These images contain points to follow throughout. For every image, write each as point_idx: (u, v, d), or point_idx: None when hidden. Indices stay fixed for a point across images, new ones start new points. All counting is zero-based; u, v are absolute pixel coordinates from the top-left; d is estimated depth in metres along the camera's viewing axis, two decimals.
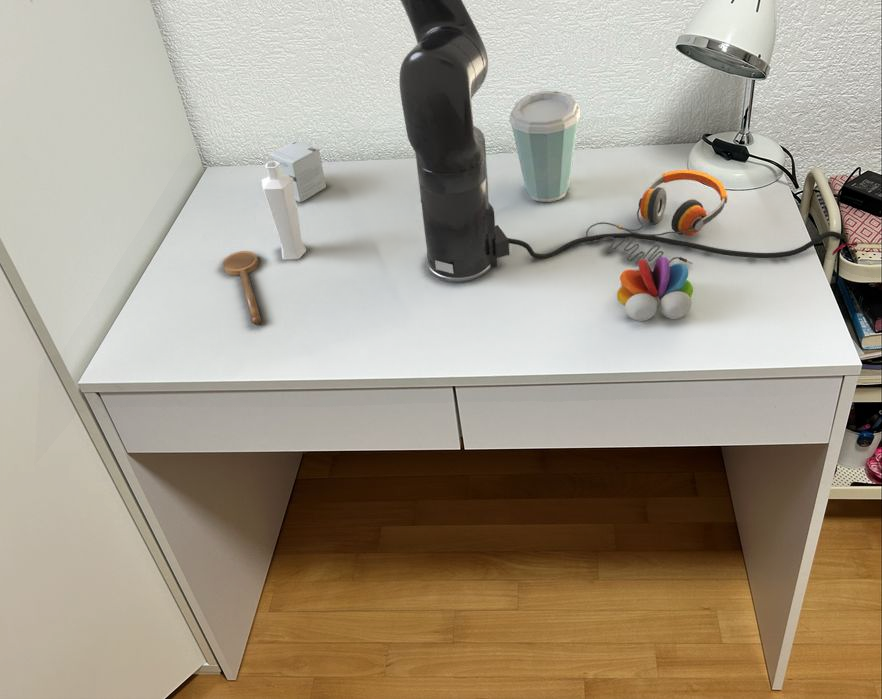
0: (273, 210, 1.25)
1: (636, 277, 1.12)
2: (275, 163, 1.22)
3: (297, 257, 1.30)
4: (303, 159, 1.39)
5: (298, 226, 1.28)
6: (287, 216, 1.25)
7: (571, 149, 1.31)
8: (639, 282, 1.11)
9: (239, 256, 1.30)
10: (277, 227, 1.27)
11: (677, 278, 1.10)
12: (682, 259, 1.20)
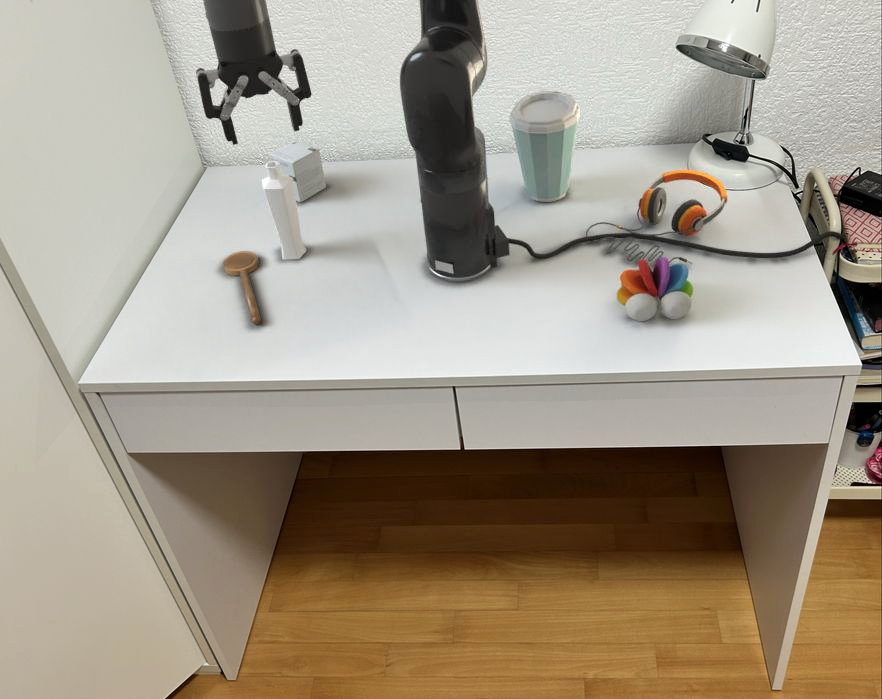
0: (273, 210, 1.25)
1: (636, 277, 1.12)
2: (275, 163, 1.22)
3: (297, 257, 1.30)
4: (303, 159, 1.39)
5: (298, 226, 1.28)
6: (287, 216, 1.25)
7: (571, 149, 1.31)
8: (639, 282, 1.11)
9: (239, 256, 1.30)
10: (277, 227, 1.27)
11: (677, 278, 1.10)
12: (682, 259, 1.20)
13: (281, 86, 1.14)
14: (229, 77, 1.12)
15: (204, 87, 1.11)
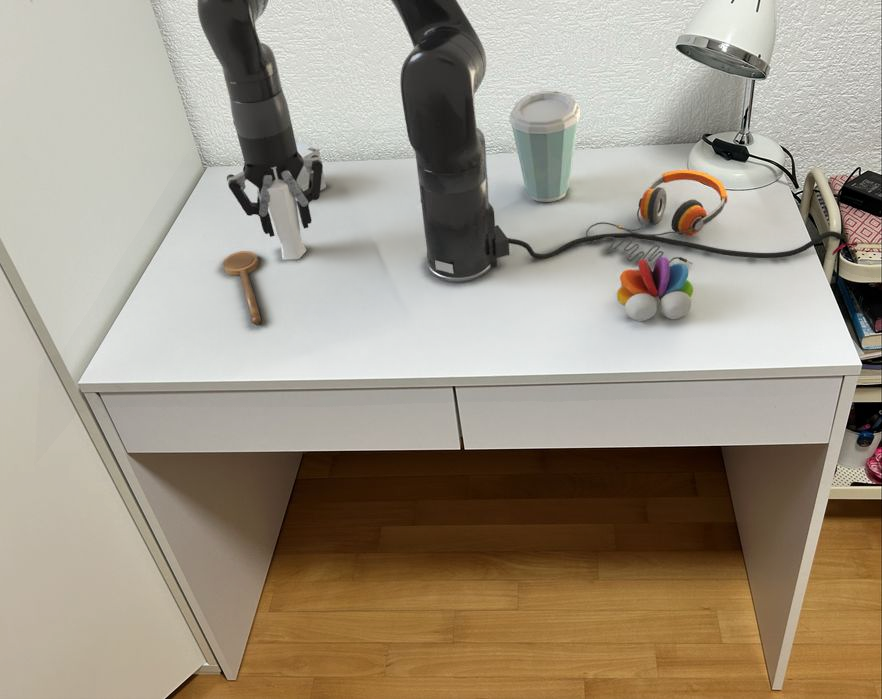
0: (273, 210, 1.25)
1: (636, 277, 1.12)
2: None
3: (297, 257, 1.30)
4: None
5: (298, 226, 1.28)
6: (287, 216, 1.25)
7: (571, 149, 1.31)
8: (639, 282, 1.11)
9: (239, 256, 1.30)
10: (277, 227, 1.27)
11: (677, 278, 1.10)
12: (682, 259, 1.20)
13: (297, 187, 1.23)
14: (254, 176, 1.21)
15: (237, 192, 1.21)
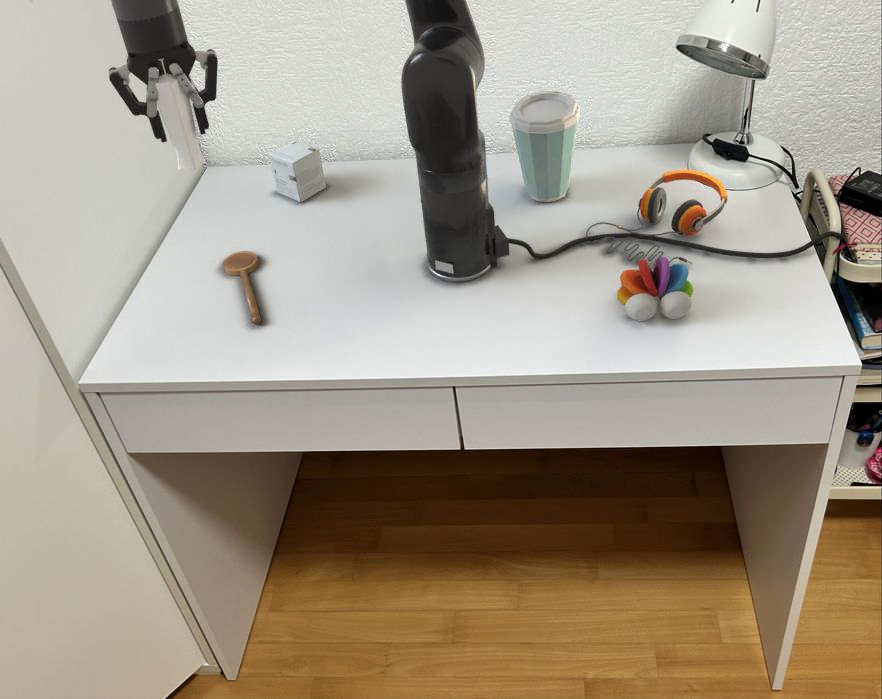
0: (163, 110, 1.12)
1: (636, 277, 1.12)
2: None
3: (194, 167, 1.17)
4: (303, 160, 1.39)
5: (194, 131, 1.15)
6: (179, 117, 1.12)
7: (571, 149, 1.31)
8: (639, 282, 1.11)
9: (239, 256, 1.30)
10: (169, 131, 1.14)
11: (677, 278, 1.10)
12: (682, 259, 1.20)
13: (189, 84, 1.10)
14: (139, 69, 1.08)
15: (119, 86, 1.08)
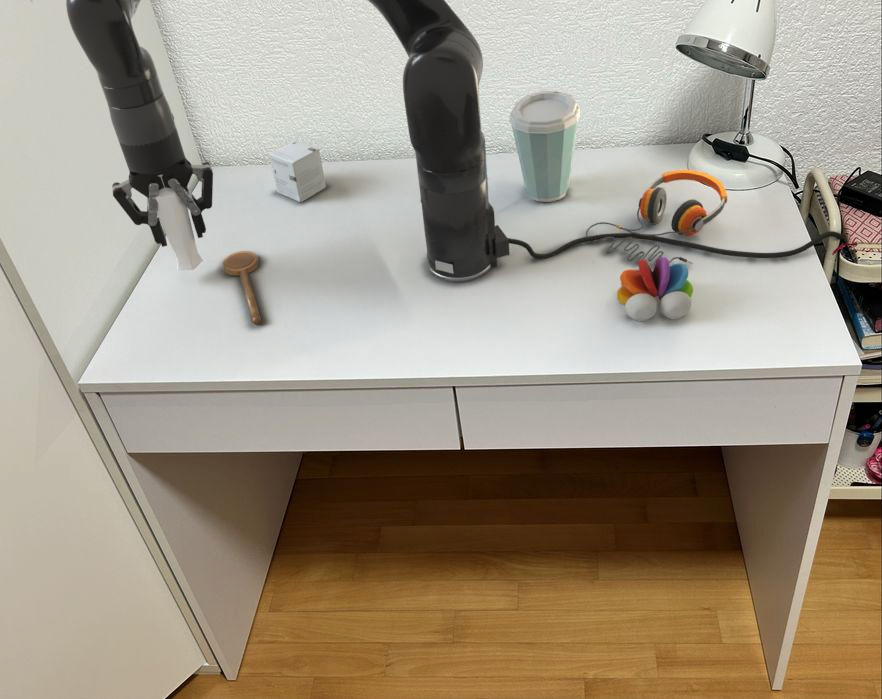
0: (163, 219, 1.20)
1: (636, 277, 1.12)
2: None
3: (192, 267, 1.25)
4: (303, 160, 1.39)
5: (191, 235, 1.24)
6: (178, 225, 1.21)
7: (571, 149, 1.31)
8: (639, 282, 1.11)
9: (239, 256, 1.30)
10: (169, 237, 1.22)
11: (677, 278, 1.10)
12: (682, 259, 1.20)
13: (187, 196, 1.19)
14: (140, 184, 1.17)
15: (122, 200, 1.17)
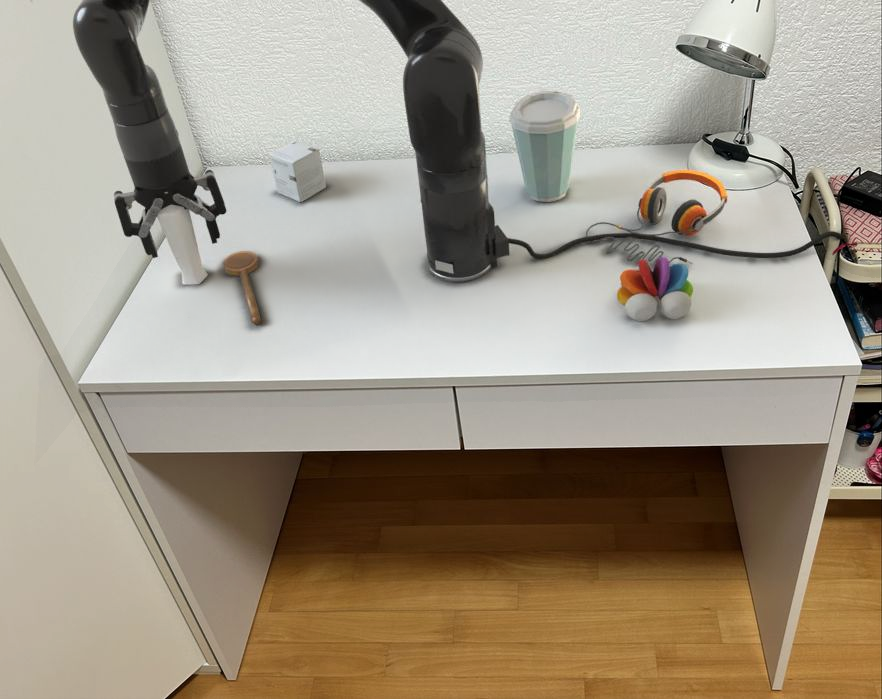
0: (168, 235, 1.22)
1: (636, 277, 1.12)
2: None
3: (197, 282, 1.27)
4: (303, 159, 1.39)
5: (196, 250, 1.26)
6: (183, 241, 1.22)
7: (571, 149, 1.31)
8: (639, 282, 1.11)
9: (239, 256, 1.30)
10: (174, 252, 1.24)
11: (677, 278, 1.10)
12: (682, 259, 1.20)
13: (196, 205, 1.20)
14: (145, 199, 1.18)
15: (121, 209, 1.18)
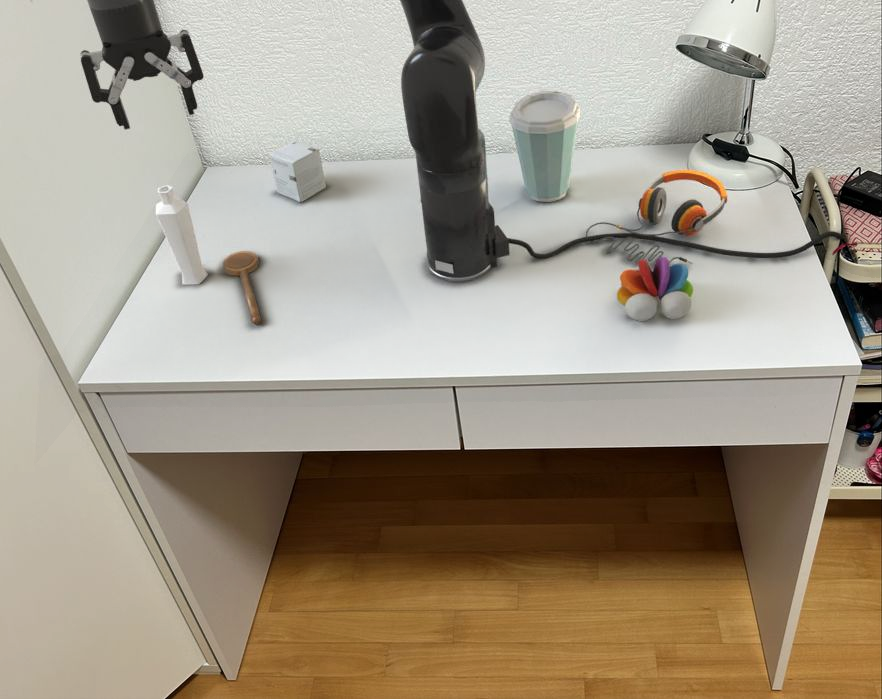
0: (168, 235, 1.22)
1: (636, 277, 1.12)
2: (168, 188, 1.20)
3: (197, 282, 1.27)
4: (303, 160, 1.39)
5: (196, 250, 1.26)
6: (183, 241, 1.22)
7: (571, 149, 1.31)
8: (639, 282, 1.11)
9: (239, 256, 1.30)
10: (174, 252, 1.24)
11: (677, 278, 1.10)
12: (682, 259, 1.20)
13: (170, 68, 1.11)
14: (114, 59, 1.09)
15: (88, 69, 1.08)
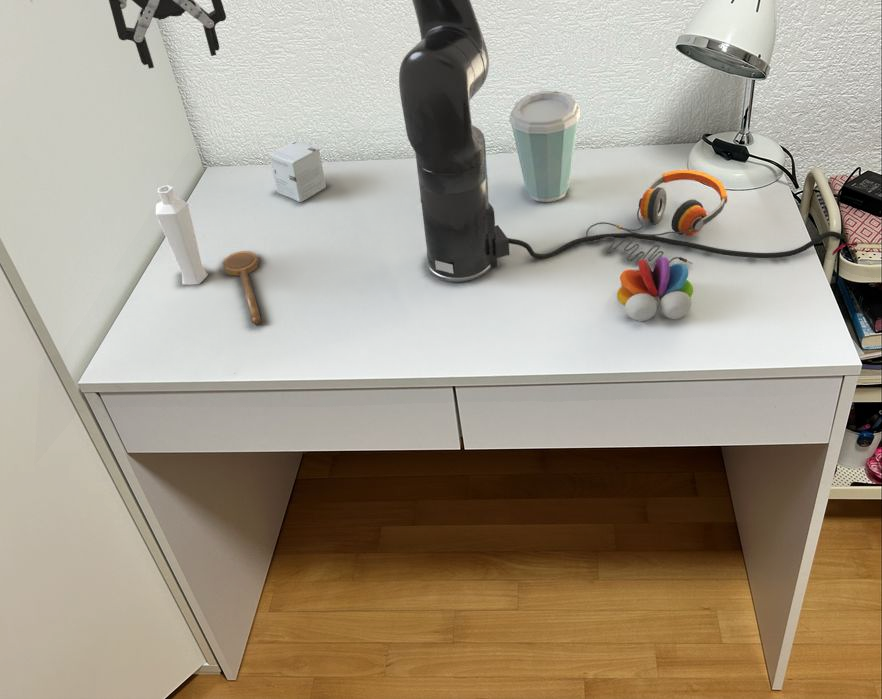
0: (168, 235, 1.22)
1: (636, 277, 1.12)
2: (168, 188, 1.20)
3: (197, 282, 1.27)
4: (303, 160, 1.39)
5: (196, 250, 1.26)
6: (183, 241, 1.22)
7: (571, 149, 1.31)
8: (639, 282, 1.11)
9: (239, 256, 1.30)
10: (174, 252, 1.24)
11: (677, 278, 1.10)
12: (682, 259, 1.20)
13: (194, 7, 1.14)
14: None
15: (115, 7, 1.12)
